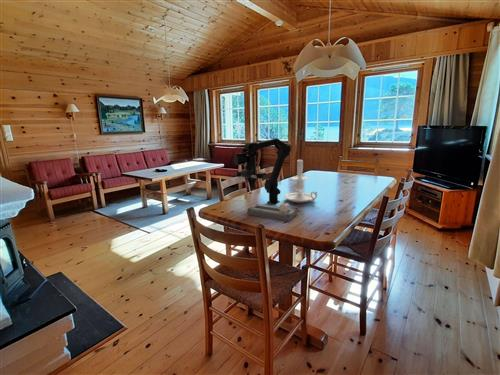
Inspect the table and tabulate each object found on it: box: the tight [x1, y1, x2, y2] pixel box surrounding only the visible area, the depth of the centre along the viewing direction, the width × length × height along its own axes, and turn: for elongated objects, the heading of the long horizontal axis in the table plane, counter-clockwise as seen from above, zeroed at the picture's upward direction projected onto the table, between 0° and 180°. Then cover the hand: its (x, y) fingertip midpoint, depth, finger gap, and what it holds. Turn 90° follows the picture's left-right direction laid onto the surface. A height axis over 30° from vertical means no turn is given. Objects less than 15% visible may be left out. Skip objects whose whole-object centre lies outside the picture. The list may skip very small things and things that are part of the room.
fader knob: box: [278, 202, 290, 213], centre depth 149 cm, size 4×4×5 cm
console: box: [246, 203, 298, 222], centre depth 154 cm, size 12×26×3 cm, turn 58°
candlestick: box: [283, 159, 319, 204], centre depth 175 cm, size 21×25×28 cm
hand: (251, 188), depth 168 cm, fingers closed
